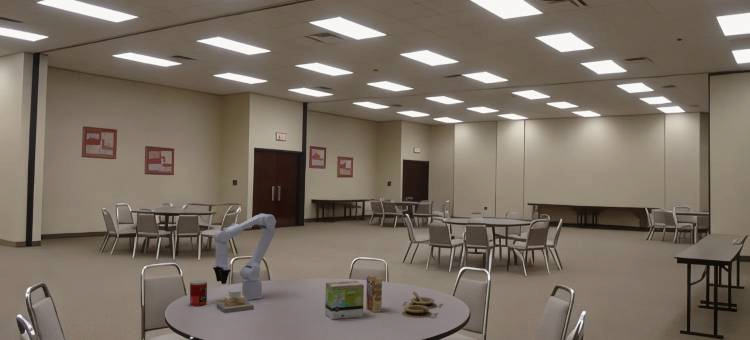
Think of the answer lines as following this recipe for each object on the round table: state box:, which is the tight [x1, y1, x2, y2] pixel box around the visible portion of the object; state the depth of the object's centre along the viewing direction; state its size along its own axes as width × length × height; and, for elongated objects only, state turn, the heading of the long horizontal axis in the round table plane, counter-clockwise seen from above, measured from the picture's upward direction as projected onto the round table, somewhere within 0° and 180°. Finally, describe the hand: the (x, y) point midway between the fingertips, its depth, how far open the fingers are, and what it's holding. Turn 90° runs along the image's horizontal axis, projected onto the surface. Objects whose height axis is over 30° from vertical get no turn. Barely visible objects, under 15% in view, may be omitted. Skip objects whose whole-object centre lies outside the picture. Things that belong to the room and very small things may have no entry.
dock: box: [216, 300, 255, 314], centre depth 268 cm, size 14×12×2 cm
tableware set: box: [401, 291, 444, 319], centre depth 268 cm, size 30×20×6 cm, turn 166°
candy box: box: [365, 275, 383, 313], centre depth 267 cm, size 9×4×15 cm, turn 26°
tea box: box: [324, 280, 365, 320], centre depth 256 cm, size 15×10×15 cm, turn 114°
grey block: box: [228, 289, 242, 298], centre depth 268 cm, size 4×4×3 cm
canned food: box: [189, 279, 208, 307], centre depth 276 cm, size 8×8×11 cm
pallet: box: [224, 294, 245, 306], centre depth 268 cm, size 8×5×4 cm, turn 122°
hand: (221, 282), depth 280 cm, fingers open, 7 cm apart
